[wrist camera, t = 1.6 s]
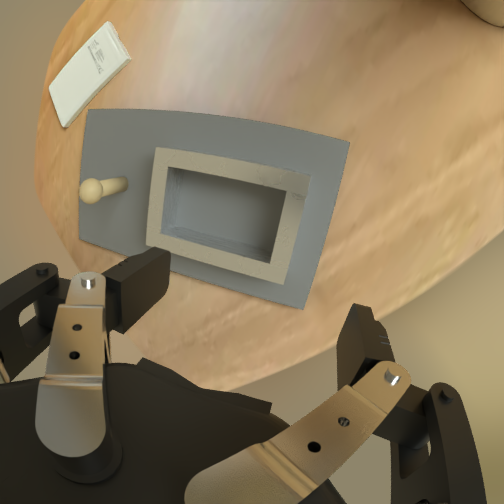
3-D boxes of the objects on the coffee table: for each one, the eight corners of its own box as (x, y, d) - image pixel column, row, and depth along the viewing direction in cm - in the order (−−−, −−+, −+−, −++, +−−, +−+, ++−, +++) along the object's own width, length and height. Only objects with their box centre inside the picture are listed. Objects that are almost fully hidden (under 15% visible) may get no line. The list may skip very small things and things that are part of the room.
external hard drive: (55, 87, 27) (113, 23, 23) (71, 127, 28) (135, 61, 24) (47, 86, 26) (106, 19, 21) (62, 127, 27) (126, 57, 23)
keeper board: (348, 143, 22) (360, 136, 15) (304, 303, 28) (297, 348, 21) (94, 110, 26) (48, 107, 20) (85, 236, 32) (44, 254, 25)
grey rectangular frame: (311, 174, 23) (311, 176, 20) (287, 271, 26) (283, 284, 23) (172, 147, 25) (155, 146, 22) (161, 236, 28) (145, 244, 25)
